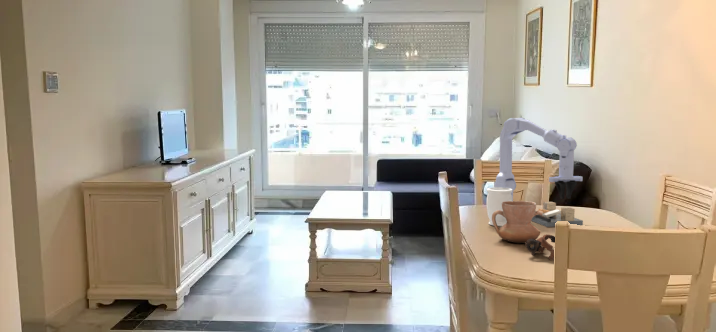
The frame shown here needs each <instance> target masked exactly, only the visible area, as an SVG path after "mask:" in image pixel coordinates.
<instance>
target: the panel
mask: <svg viewBox="0 0 716 332" xmlns="http://www.w3.org/2000/svg"><path fill="white" fill-rule="evenodd" d="M542 204H543V205H542V209H543V210H548V211H553V210H556V209H557V202H553V201H543V202H542ZM560 211H561V214H558V215H556V217H554V218H552V217H545V216H542V215H540V214H538V215H535V216H534V217H533V218H532V220H531V222H533V223H536V224H538V225H541V226H544V227H546V228H553V227H554V226H555V223H556V222H557V221H568V222H569V223H570V224H577V225H580V226H583V225H584V220H583V219H579V218H577V217H575V211H576V209H575V208H573V207H561V208H560ZM554 228H555V227H554Z"/></svg>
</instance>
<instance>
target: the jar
mask: <svg viewBox="0 0 716 332" xmlns="http://www.w3.org/2000/svg"><path fill="white" fill-rule="evenodd" d="M486 192H487V195H486V212H487V217H488V219H489V221H488V225H491V226H493V227H495V226H494V225H493V222H492V214H493V213H494V212H495V211H497V210H500V211H503V209H502V202H505V201H512V196H511V192H512V189H510V188H502V187H494V186H493V187H488V188H486ZM496 223H497V226H498V227H502V226H503V225H505V224H506V223H507V220H506V218H505V217H503V216H502V215H500V214H497V215H496Z"/></svg>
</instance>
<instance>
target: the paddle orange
mask: <svg viewBox="0 0 716 332" xmlns="http://www.w3.org/2000/svg"><path fill="white" fill-rule="evenodd" d="M537 211H542V212H543V213H546V212H550V211H548V210H543V208H538V210H537ZM555 216H556V215H555Z"/></svg>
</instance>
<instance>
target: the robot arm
mask: <svg viewBox="0 0 716 332" xmlns="http://www.w3.org/2000/svg"><path fill="white" fill-rule="evenodd" d="M524 131H528V132H531V133H533V134H535V135H537V136H539V137H542V138H543V141H544V142H546V143H547V144H549V145H551V146H553V147H555V148H557V150H558V151H559V159H558V160H559V161H558V163H559V164H558V176H549V177H548V182H549V183H554V184H555V187H556V189H557V192H558V196H559V199H561V200H564V199H565V198H566V199H572V198H571V197H572V195H573V191H574V189H575V187H576V186H577V182H583V176H581V175H580V176H579V175H574V165H575V163H574V162H575V158H574V157H575V150H576V149H577V146H578V145H577V144H578V143H577V142H576V140H575V139H574V138H573V137H567V135H566V134H561V133H559V132H558V131H557V129H548V130H547V129H545V128H543V127H541V126H540V125H538V124H536V123H534V122H533V121H531V120H530V119H526V118H524V117H509V118H508V119H506V120H505V121H504V122H503V127H502V128H501V132H500V133H499V173H497V175H496V177H495V182H494V184H493V185H494V186H493V187H502V188H510V189H512V192H511V196H512V201H514V191H515V190H516V188H517V182H516V180H515V175H514V173H513V171H512V170H513V138H514V137H516V136H517V135H518V134H520V133H523V132H524ZM565 194H566V195H565Z"/></svg>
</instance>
